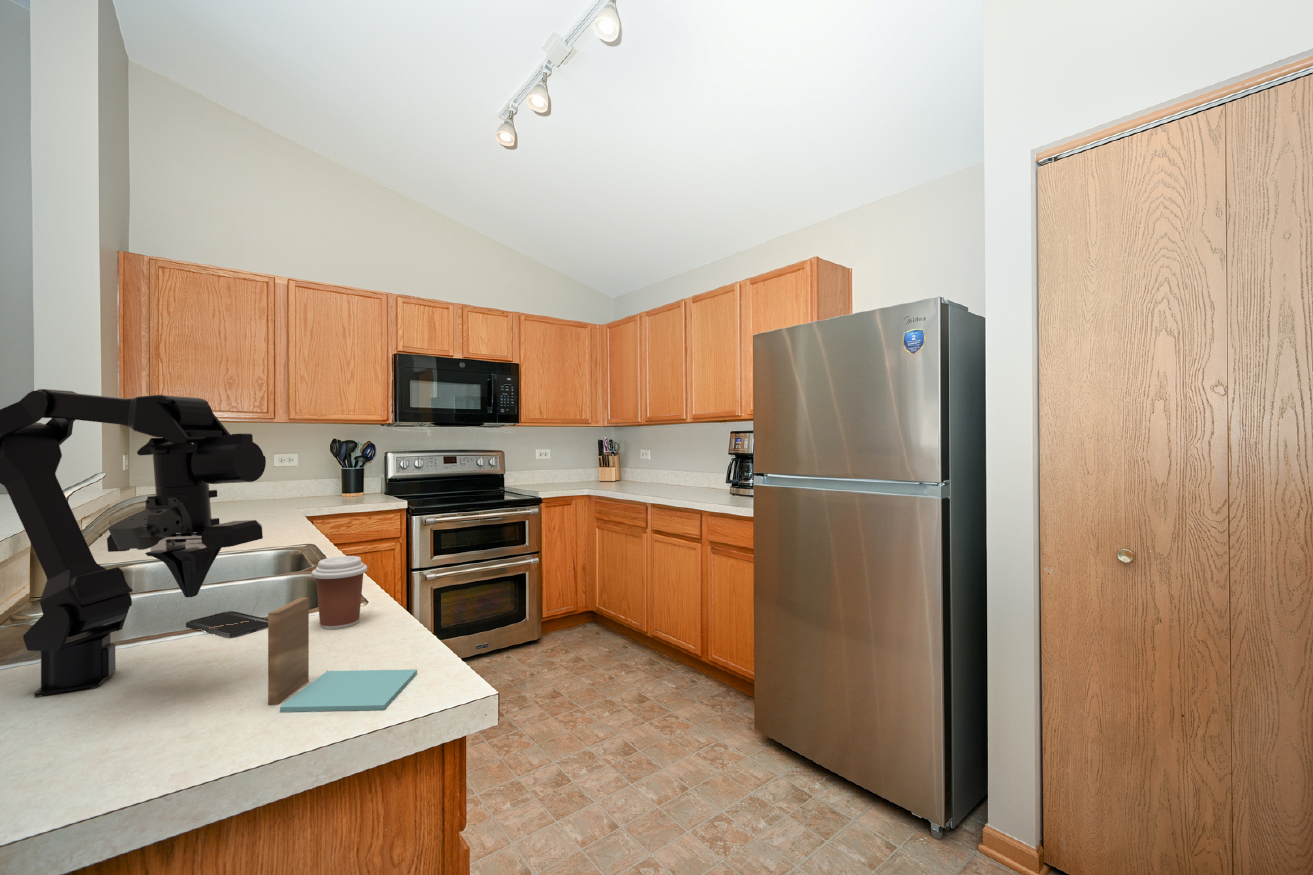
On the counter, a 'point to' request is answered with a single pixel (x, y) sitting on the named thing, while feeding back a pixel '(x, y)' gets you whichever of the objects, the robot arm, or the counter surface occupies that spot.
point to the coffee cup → (339, 591)
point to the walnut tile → (288, 650)
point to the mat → (350, 691)
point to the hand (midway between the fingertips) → (191, 596)
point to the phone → (229, 618)
